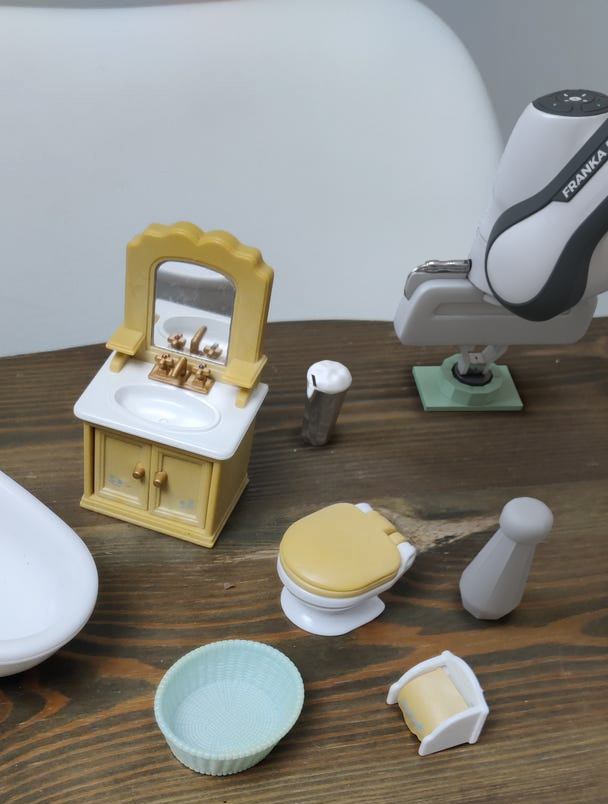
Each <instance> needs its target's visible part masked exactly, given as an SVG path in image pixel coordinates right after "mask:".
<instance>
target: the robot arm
mask: <svg viewBox="0 0 608 804" xmlns="http://www.w3.org/2000/svg"><path fill="white" fill-rule="evenodd" d="M491 195H492V196H491V201H490V203H489V205H488V207H487V209H486V210H485V212H484V213H483V215H482V216H481V217H480V221H479V223H478V226H477V228H476V232H475V235H474V238H473V241H472V244H471V247H470V250H469V253H468V256H467V259H450V260H440V259H430V260H426V261H425V262H424V263H423V264H420V265H418V266H416V267H414V268H412V269H411V270H410V271H409V272H408V274H407V276H406V280H405V284H404V288H403V294H402V296H401V299H400V301H399V303H398V306H397V308H396V311H395V314H394V317H393V328H394V332H395V334H396V337H397V338H398V340H399V341H400V343H401V345H403V346H406V347H409V346H410V347H416V346H417V347H419V346H421V347H423V346H424V347H425V346H427V347H428V346H429V347H430V346H431V347H432V346H433V347H434V346H438V347H439V346H458V350H459V352H460V354H461V357H460V360H459V362H458V369H459V372H460V374H487V372H488V370H489V367H490V365H491V363H493V362H494V363H495V361H497V360H498V359H499V358H500V357H502V355H504V354H505V353H506V352H507V351H508V348H509V346H534V345H535V346H536V345H537V346H538V345H539V346H541V345H542V346H544V345H545V346H547V345H573V344H575V343H577V342H578V341H580V340H581V339H582V338H583V337H585V335H586V333H587V331H588V329H589V327H590V325H591V323H592V320H593V318H594V315H595V312H596V310H597V307H598V301H599V298H598V296H599V295H602V294H604V293H606V292H608V95H607V94H606V93H603V92H600V91H596V90H590V89H583V88H578V89H574V88H573V89H572V88H571V89H562V90H557V91H554V92H551V93H547V94H545V95H542V96H539V97H537V98H536V99H534V100H532V101H531V102H530V103H529V104H528V105H527V106H526V108H524V110H523V111H522V113H521V115H520V116H519V118H518V120H517V121H516V123H515V126H514V128H513V130H512V132H511V133H510V136H509V138H508V141H507V143H506V146H505V148H504V150H503V154H502V156H501V159H500V160H499V164H498V166H497V170H496V172H495V176H494V179H493V182H492V193H491ZM476 346H486V347H485V348H484V349H483V350H482V351H481V352H474V351H475V349H476Z"/></svg>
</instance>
